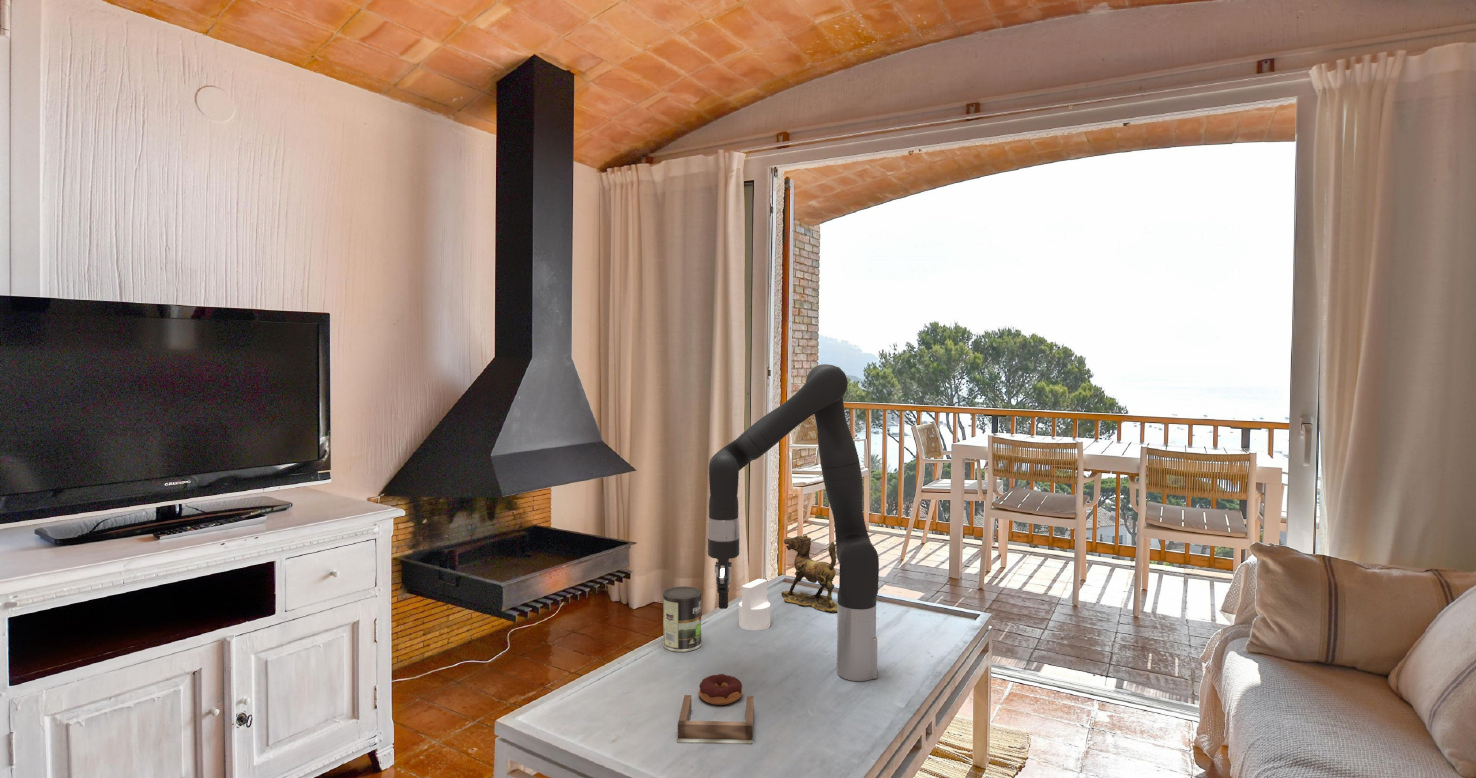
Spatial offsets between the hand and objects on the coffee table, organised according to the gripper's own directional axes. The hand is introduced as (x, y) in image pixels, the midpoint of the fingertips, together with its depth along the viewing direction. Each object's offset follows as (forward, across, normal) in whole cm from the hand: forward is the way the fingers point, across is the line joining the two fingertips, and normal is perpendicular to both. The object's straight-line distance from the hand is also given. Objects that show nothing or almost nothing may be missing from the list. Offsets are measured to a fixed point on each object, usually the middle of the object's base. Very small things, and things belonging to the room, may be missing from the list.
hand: (723, 607), depth 174 cm
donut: (+17, -11, 0) cm, 20 cm away
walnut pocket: (+16, -23, 0) cm, 28 cm away
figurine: (+17, +52, -25) cm, 60 cm away
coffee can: (+17, +18, +12) cm, 27 cm away
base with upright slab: (+17, +33, -7) cm, 38 cm away
